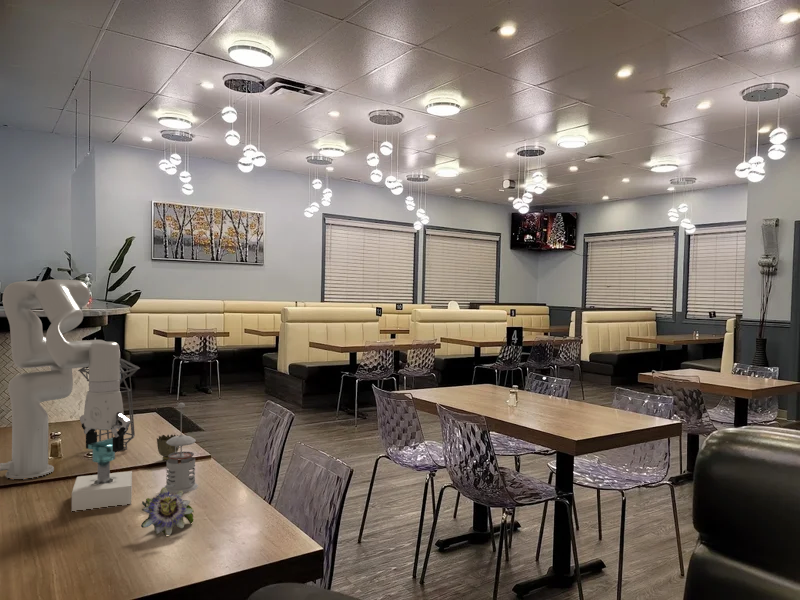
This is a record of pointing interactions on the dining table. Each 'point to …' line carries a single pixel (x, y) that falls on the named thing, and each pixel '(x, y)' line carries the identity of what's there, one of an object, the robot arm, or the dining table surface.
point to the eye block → (102, 491)
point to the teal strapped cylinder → (103, 458)
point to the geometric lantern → (121, 391)
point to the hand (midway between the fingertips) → (104, 449)
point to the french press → (180, 472)
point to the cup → (165, 446)
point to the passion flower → (167, 512)
